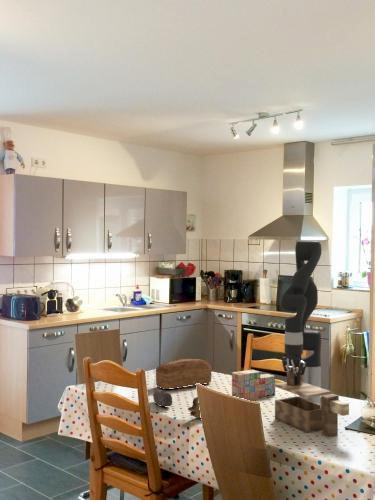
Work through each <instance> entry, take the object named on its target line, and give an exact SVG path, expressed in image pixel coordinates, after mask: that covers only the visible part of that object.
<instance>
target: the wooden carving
mask: <svg viewBox="0 0 375 500" xmlns="http://www.w3.org/2000/svg"><path fill="white" fill-rule="evenodd" d="M187 410H188V411H190V412H189V415H190V416H192V417H194V418H196V419H199V418H200V410H199V403H198V397H197V396H196V397H194V398H193V400H192V406H189V407H188V408H187Z"/></svg>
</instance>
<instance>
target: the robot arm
mask: <svg viewBox="0 0 375 500" xmlns="http://www.w3.org/2000/svg"><path fill="white" fill-rule="evenodd" d="M294 249H295V250H294V253H295V263H296V265H295V266H296V272H295V273H294V274H293V275H292V277H291V281H290V284H289V287H288V288H287V289H286V290H285V292H284V293H283V294H282V296H281V298H280V308H281V309H282V310H283V311H285V312H296V314H295V315H293V316H288V317H286V318H285V319H284V354H285V356H283V357H281V362H282V363H281V364H282V368H283V371H284V372H286V373H287V372H293V371H294V375H295V376H294V384H295V385H299V384H300V376H301V375H302V382H304V383H308V384H311V385H314V386H317V387H320V388H322V381H321V380H322V379H321V377H322V375H321V374H322V371H321V369H322V367H321V365H322V364H321V363H322V361H321V360H322V358H321V356H322V355H321V353H322V334H321V331H319V330H310V329H309V330H307V329H305V327H306V324H307V322H308V320H309V318H310V317H311V315H312V313H313V312H314V310H315V309H316V307H317V305H318V302H319V300H318V299H319V295H318V294H319V293H318V287H317V285H316V283H315V282H314V280H313V278H312V274H313V273H314V271H315V269H316V268H317V265H318V263H319V261H320V259H321V256H322V244H321V242H320V241H317V240H306V239H305V240H297V241H296V243H295V248H294ZM304 351H307V352H308V351H310V352H311V351H313V353H312V354H309V355H308V356H304V357H302V355H304ZM297 371H298V373H297ZM298 397H301V398H304V399H306V400H309V401H312V402H315V403H318V404H320V397H321V396H318V397H313V398H305V397H302V396H299V395H298Z"/></svg>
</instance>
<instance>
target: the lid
mask: <svg viewBox="0 0 375 500" xmlns="http://www.w3.org/2000/svg"><path fill="white" fill-rule="evenodd" d="M297 373H298V370H297ZM294 376H295V375H294V371H293V372H286V381H284V382H283V381H282V382H278V383H275V388H278V389H280V390H284V391H286V392H289V393H291V394H293V395H296V396H298V397H299V396H302V397H305V398H313V397H318V396H323V395H329V394H332V391H331V390H328V389H326V388H322V387H321V388H320V387H317V386H314V385H311V384H308V383H304V382H302V375H301V376H300V384H299V385H295V384H294Z"/></svg>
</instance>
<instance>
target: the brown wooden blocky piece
mask: <svg viewBox="0 0 375 500" xmlns="http://www.w3.org/2000/svg"><path fill="white" fill-rule="evenodd" d="M329 399H336V400H339V395H338V394H334V393H331V394H329V395H323V396H321V408H320V404H318V403H315V402H312V401H309V400H306V399H304V398H301V397H299V395H296V396H292V397H285V398H279V399H274V420H275V421H278V422H281V423H282V424H285V425H287V426H290V427H292V428H295V429H297V430H300V431H302V432H303V433H306V434H309V433H313V432H318V431H322V432H321V435H322V436H324V437H326V438H330V437H335V436H338V435H339V434H338V431H339V429H338V428H339V424H338V422H339V421H338V418H339V417H338V415H339V414H336V413H334V412H331V411H329ZM339 401H340V400H339Z"/></svg>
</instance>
